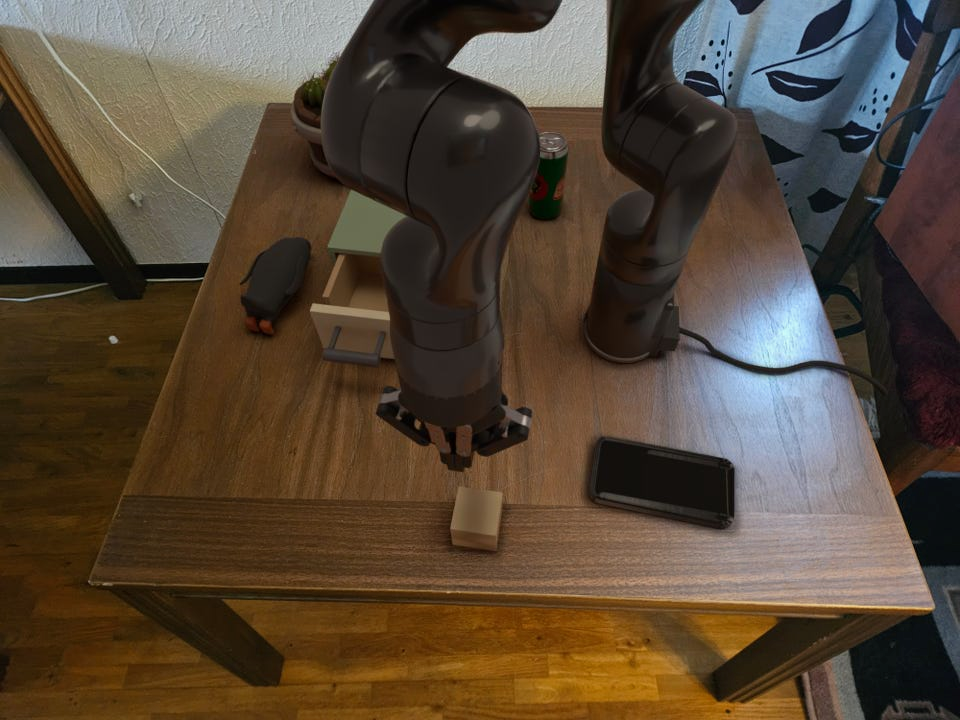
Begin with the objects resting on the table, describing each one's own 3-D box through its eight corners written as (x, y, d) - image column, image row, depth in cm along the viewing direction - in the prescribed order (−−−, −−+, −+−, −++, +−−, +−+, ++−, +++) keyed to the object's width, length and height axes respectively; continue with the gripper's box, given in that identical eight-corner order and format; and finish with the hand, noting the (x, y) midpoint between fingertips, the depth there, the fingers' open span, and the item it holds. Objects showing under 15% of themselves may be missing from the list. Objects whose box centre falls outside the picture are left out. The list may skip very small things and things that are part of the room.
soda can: (559, 223, 93) (567, 155, 84) (525, 219, 94) (529, 150, 84) (563, 200, 96) (571, 132, 86) (530, 196, 97) (534, 128, 87)
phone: (734, 527, 65) (588, 496, 67) (731, 530, 66) (587, 501, 68) (734, 459, 70) (597, 433, 72) (731, 463, 71) (596, 437, 73)
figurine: (294, 348, 84) (334, 256, 90) (266, 311, 75) (312, 211, 81) (244, 336, 86) (286, 246, 91) (210, 299, 76) (260, 201, 82)
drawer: (404, 393, 76) (395, 355, 69) (312, 381, 77) (296, 343, 71) (434, 281, 86) (429, 238, 80) (353, 272, 87) (342, 230, 81)
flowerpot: (291, 152, 104) (254, 30, 88) (377, 124, 108) (357, 2, 92) (322, 204, 97) (287, 81, 80) (413, 172, 101) (398, 49, 84)
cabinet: (433, 308, 84) (427, 257, 77) (342, 298, 86) (326, 247, 78) (453, 232, 93) (449, 179, 85) (369, 224, 94) (358, 171, 86)
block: (502, 509, 68) (502, 492, 64) (496, 551, 66) (496, 535, 62) (460, 503, 69) (458, 485, 65) (452, 544, 66) (449, 529, 62)
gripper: (339, 379, 42) (377, 487, 56) (535, 410, 41) (524, 513, 55) (371, 296, 47) (399, 415, 61) (550, 320, 45) (536, 438, 59)
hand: (458, 462), depth 58 cm, fingers closed
